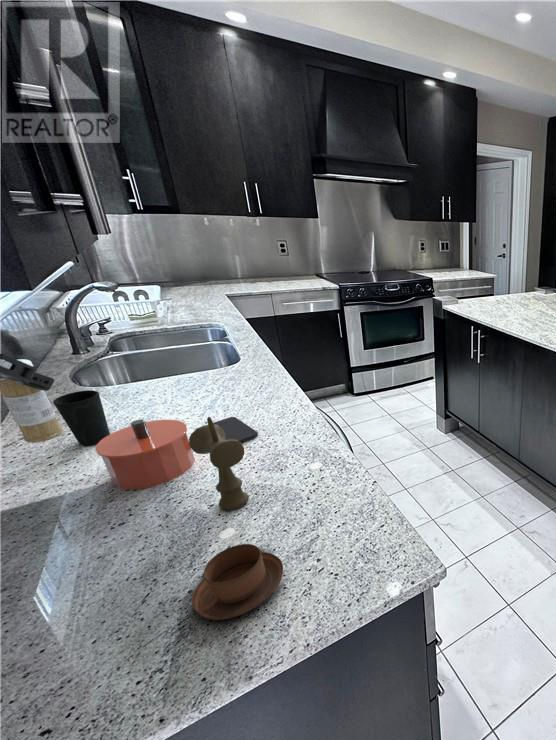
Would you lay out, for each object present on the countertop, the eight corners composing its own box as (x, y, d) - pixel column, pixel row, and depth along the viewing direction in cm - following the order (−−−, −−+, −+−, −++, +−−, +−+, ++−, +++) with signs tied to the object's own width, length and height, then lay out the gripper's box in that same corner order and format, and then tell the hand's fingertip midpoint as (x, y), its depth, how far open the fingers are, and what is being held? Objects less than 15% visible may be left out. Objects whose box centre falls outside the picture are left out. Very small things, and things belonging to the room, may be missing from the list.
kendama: (239, 486, 87) (215, 403, 78) (262, 505, 82) (238, 418, 74) (207, 501, 82) (178, 415, 74) (229, 522, 77) (200, 432, 69)
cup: (107, 429, 105) (89, 387, 100) (122, 437, 102) (105, 394, 97) (67, 443, 99) (46, 399, 94) (82, 451, 96) (61, 407, 91)
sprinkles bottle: (46, 429, 71) (12, 357, 65) (71, 431, 71) (39, 359, 65) (16, 443, 67) (-24, 367, 61) (42, 445, 66) (5, 369, 61)
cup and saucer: (263, 624, 59) (254, 595, 56) (176, 629, 58) (162, 599, 55) (297, 559, 70) (290, 531, 67) (224, 561, 69) (214, 534, 66)
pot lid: (193, 442, 85) (187, 423, 84) (98, 470, 76) (89, 449, 74) (181, 417, 95) (175, 399, 93) (95, 439, 85) (87, 420, 83)
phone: (233, 415, 112) (259, 432, 105) (234, 418, 113) (260, 435, 105) (202, 426, 107) (227, 444, 99) (203, 428, 107) (228, 447, 99)
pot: (202, 476, 89) (189, 440, 85) (119, 504, 80) (101, 465, 76) (190, 451, 98) (178, 416, 94) (114, 473, 89) (98, 436, 85)
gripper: (-49, 312, 52) (86, 366, 68) (-148, 305, 53) (8, 360, 69) (-85, 366, 49) (64, 409, 65) (-189, 357, 50) (-17, 401, 66)
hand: (34, 383), depth 67 cm, fingers closed on sprinkles bottle, 4 cm apart
